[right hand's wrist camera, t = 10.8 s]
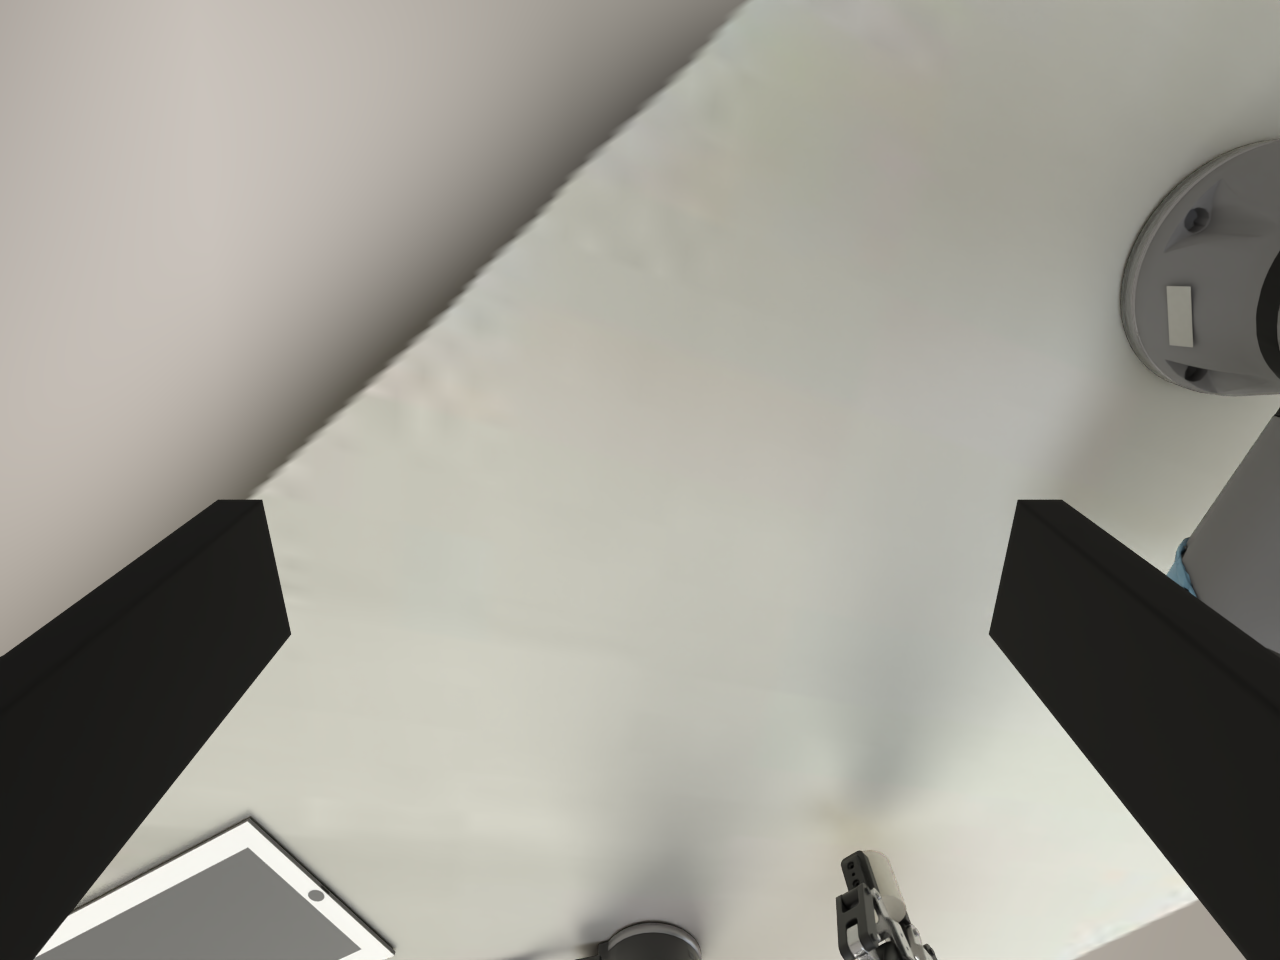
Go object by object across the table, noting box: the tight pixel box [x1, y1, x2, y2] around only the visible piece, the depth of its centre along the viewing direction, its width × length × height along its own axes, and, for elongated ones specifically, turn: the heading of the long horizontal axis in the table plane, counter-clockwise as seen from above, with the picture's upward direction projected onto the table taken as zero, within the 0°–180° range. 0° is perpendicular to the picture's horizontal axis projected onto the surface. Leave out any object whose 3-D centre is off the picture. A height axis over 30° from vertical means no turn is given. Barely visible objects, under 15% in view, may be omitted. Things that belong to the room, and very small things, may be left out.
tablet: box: [34, 818, 395, 960], centre depth 68 cm, size 32×20×1 cm, turn 122°
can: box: [862, 850, 906, 923], centre depth 58 cm, size 4×4×4 cm
